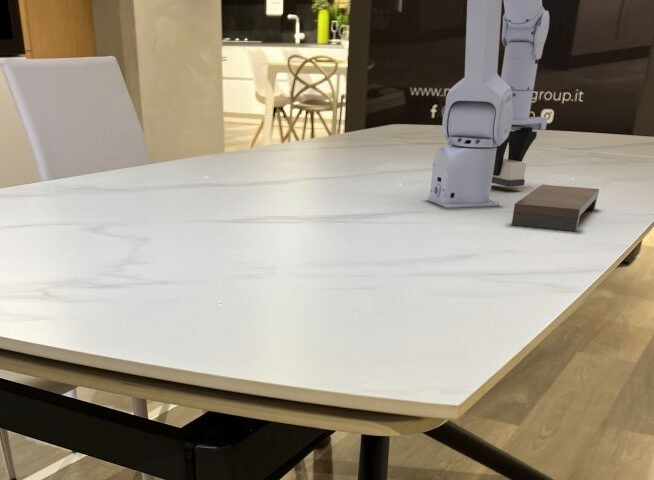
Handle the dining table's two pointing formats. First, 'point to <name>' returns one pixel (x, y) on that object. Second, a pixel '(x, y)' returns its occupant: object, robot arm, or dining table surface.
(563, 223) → the low wooden riser
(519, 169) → the beige cube on base
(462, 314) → the dining table surface
